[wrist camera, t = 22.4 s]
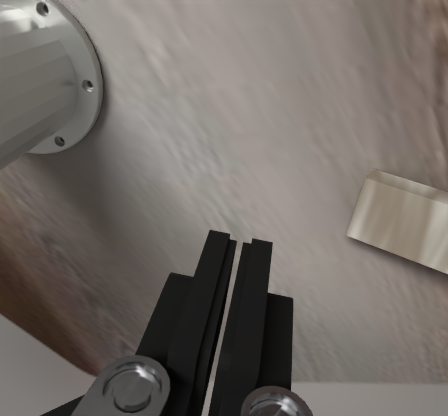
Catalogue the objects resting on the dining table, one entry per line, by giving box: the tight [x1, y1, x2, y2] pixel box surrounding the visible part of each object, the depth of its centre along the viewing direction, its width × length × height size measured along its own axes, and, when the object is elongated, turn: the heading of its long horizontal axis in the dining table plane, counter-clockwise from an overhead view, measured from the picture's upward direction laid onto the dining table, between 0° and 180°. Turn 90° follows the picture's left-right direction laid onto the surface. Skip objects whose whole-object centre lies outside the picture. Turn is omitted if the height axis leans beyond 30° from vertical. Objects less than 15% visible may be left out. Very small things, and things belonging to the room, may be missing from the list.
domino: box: [346, 168, 448, 274], centre depth 29 cm, size 2×5×10 cm
